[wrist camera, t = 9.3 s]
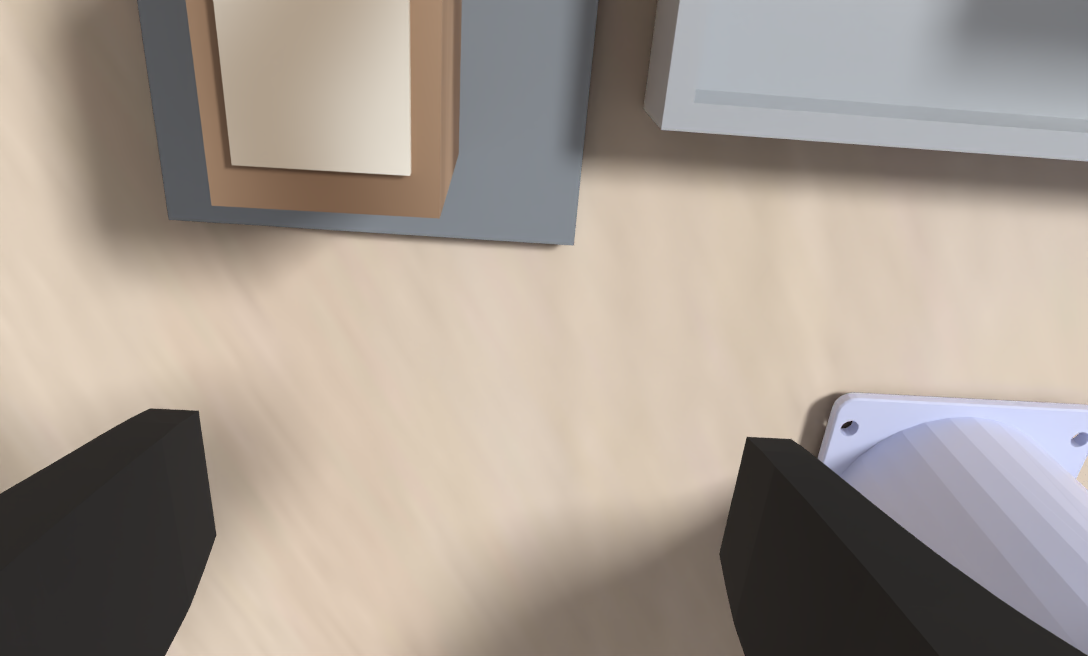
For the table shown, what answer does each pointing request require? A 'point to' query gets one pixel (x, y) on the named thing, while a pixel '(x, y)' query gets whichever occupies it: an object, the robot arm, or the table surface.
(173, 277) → the table surface
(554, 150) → the slate mat
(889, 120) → the grey bin
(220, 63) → the labelled block
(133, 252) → the table surface
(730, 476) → the table surface
